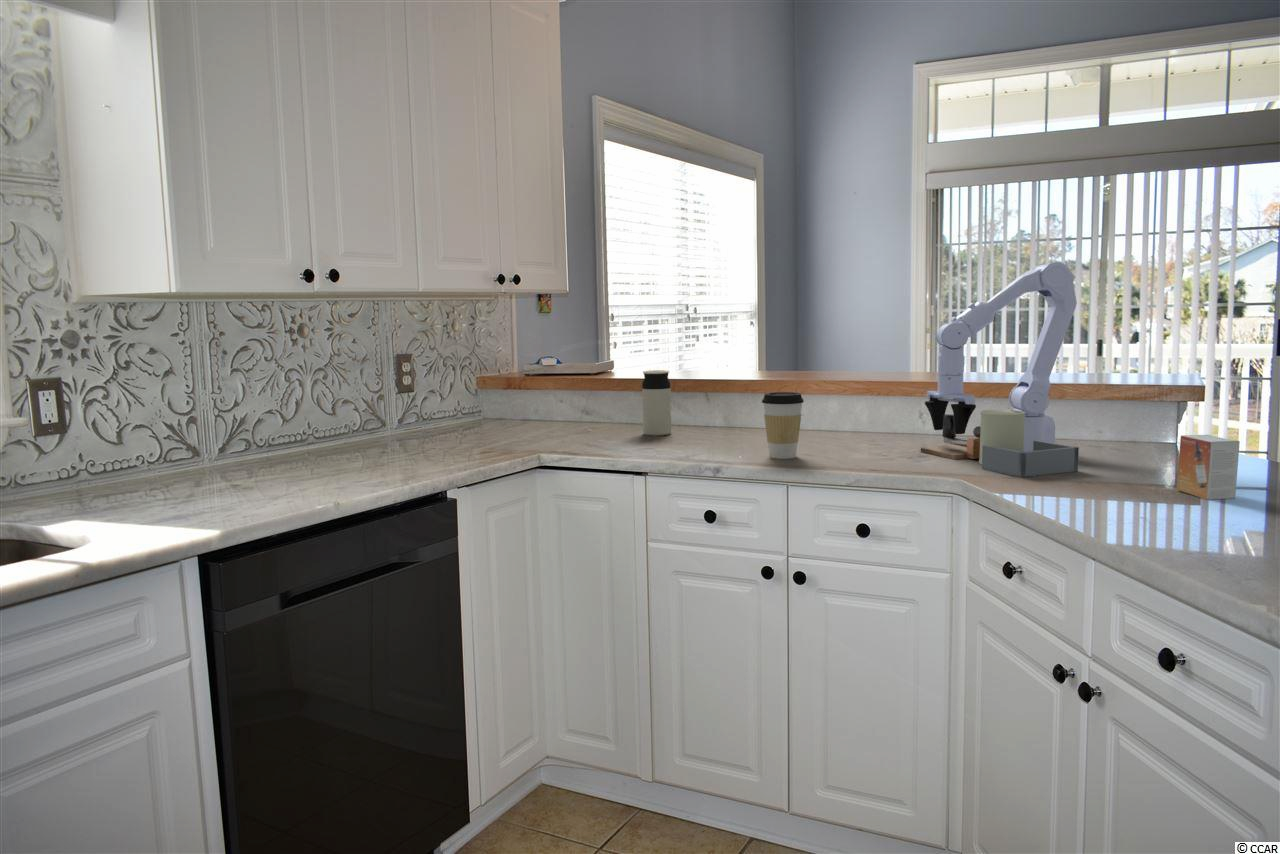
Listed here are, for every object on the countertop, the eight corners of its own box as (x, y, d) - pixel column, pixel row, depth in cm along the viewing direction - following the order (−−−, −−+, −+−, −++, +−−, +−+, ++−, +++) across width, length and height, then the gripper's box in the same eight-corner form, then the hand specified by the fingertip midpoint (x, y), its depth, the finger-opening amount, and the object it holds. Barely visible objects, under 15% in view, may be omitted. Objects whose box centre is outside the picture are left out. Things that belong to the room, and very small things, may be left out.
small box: (1175, 491, 166) (1179, 434, 164) (1204, 489, 166) (1207, 433, 165) (1206, 500, 158) (1210, 441, 156) (1236, 498, 158) (1240, 440, 157)
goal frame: (1036, 462, 197) (1037, 440, 197) (1077, 470, 187) (1078, 447, 186) (981, 468, 192) (982, 445, 191) (1021, 477, 181) (1022, 453, 181)
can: (1027, 467, 191) (1029, 412, 190) (982, 467, 193) (984, 412, 192) (1018, 460, 200) (1020, 407, 199) (975, 460, 202) (976, 407, 201)
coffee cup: (808, 454, 215) (808, 392, 213) (797, 461, 206) (797, 396, 204) (768, 452, 219) (768, 391, 217) (756, 458, 210) (756, 395, 208)
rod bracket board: (954, 448, 218) (954, 444, 218) (989, 455, 207) (989, 451, 207) (920, 451, 215) (920, 447, 214) (954, 459, 203) (954, 455, 203)
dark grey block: (953, 449, 215) (953, 413, 214) (991, 457, 203) (992, 419, 202) (936, 450, 213) (936, 415, 212) (973, 458, 201) (974, 421, 200)
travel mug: (671, 435, 251) (670, 371, 248) (643, 436, 251) (641, 372, 248) (671, 431, 259) (669, 369, 256) (643, 432, 259) (642, 370, 256)
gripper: (916, 373, 215) (915, 429, 217) (958, 377, 202) (956, 436, 204) (940, 372, 218) (939, 427, 220) (982, 376, 204) (981, 434, 206)
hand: (949, 431), depth 212 cm, fingers open, 7 cm apart
